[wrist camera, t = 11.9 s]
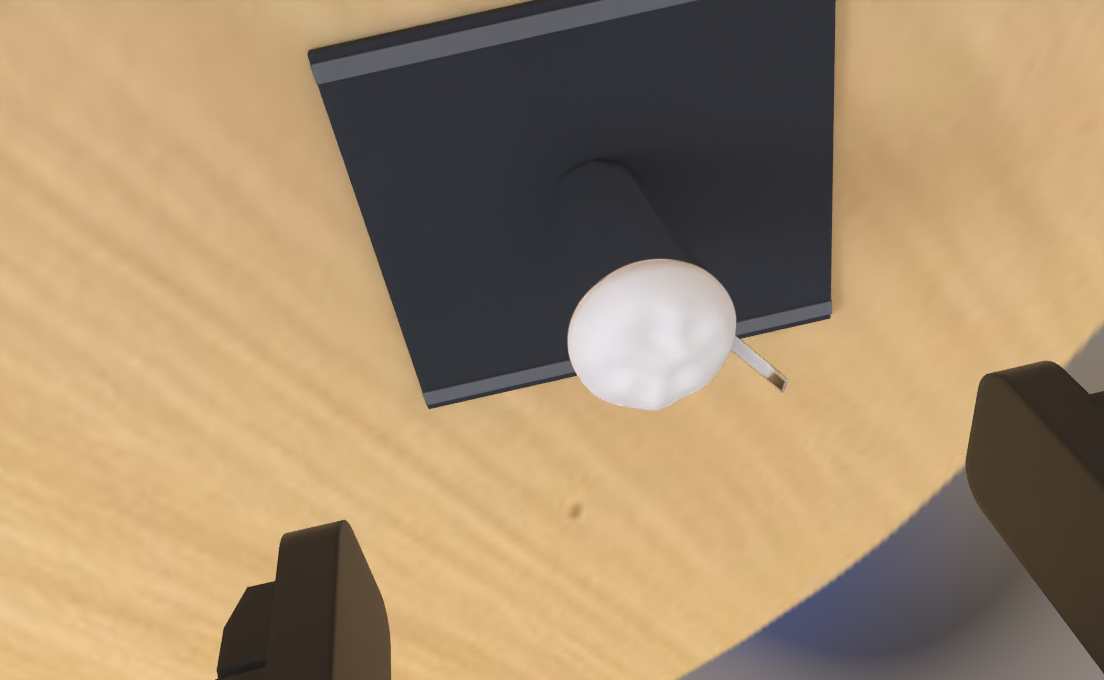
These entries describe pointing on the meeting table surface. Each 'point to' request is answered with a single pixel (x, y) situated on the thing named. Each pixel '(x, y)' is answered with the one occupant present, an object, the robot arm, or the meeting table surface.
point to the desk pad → (571, 141)
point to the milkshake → (639, 295)
